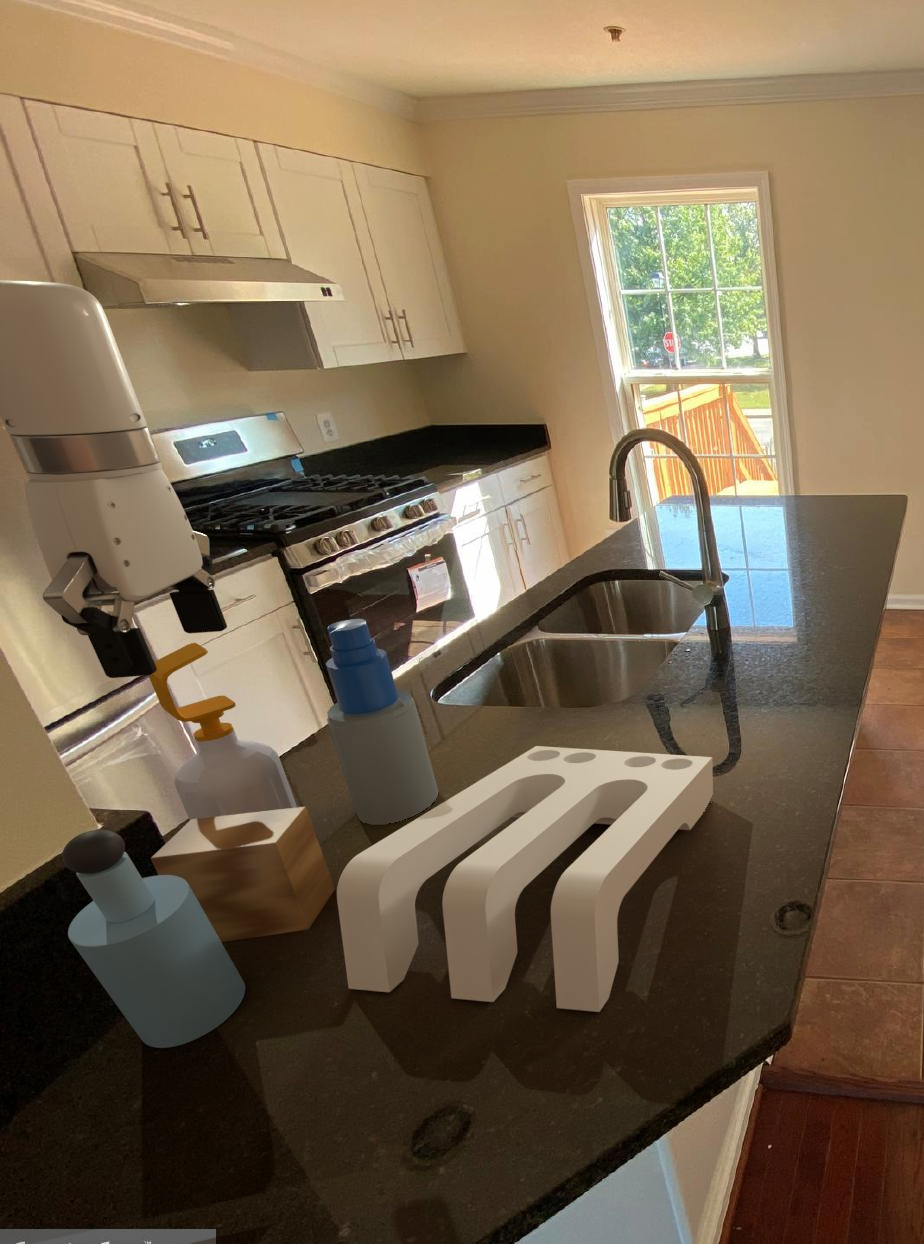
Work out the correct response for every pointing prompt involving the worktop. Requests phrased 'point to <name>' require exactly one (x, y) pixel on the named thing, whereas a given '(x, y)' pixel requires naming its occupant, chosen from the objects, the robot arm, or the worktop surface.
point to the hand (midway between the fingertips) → (172, 651)
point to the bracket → (521, 869)
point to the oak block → (251, 871)
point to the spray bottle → (376, 730)
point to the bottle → (150, 945)
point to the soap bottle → (220, 755)
